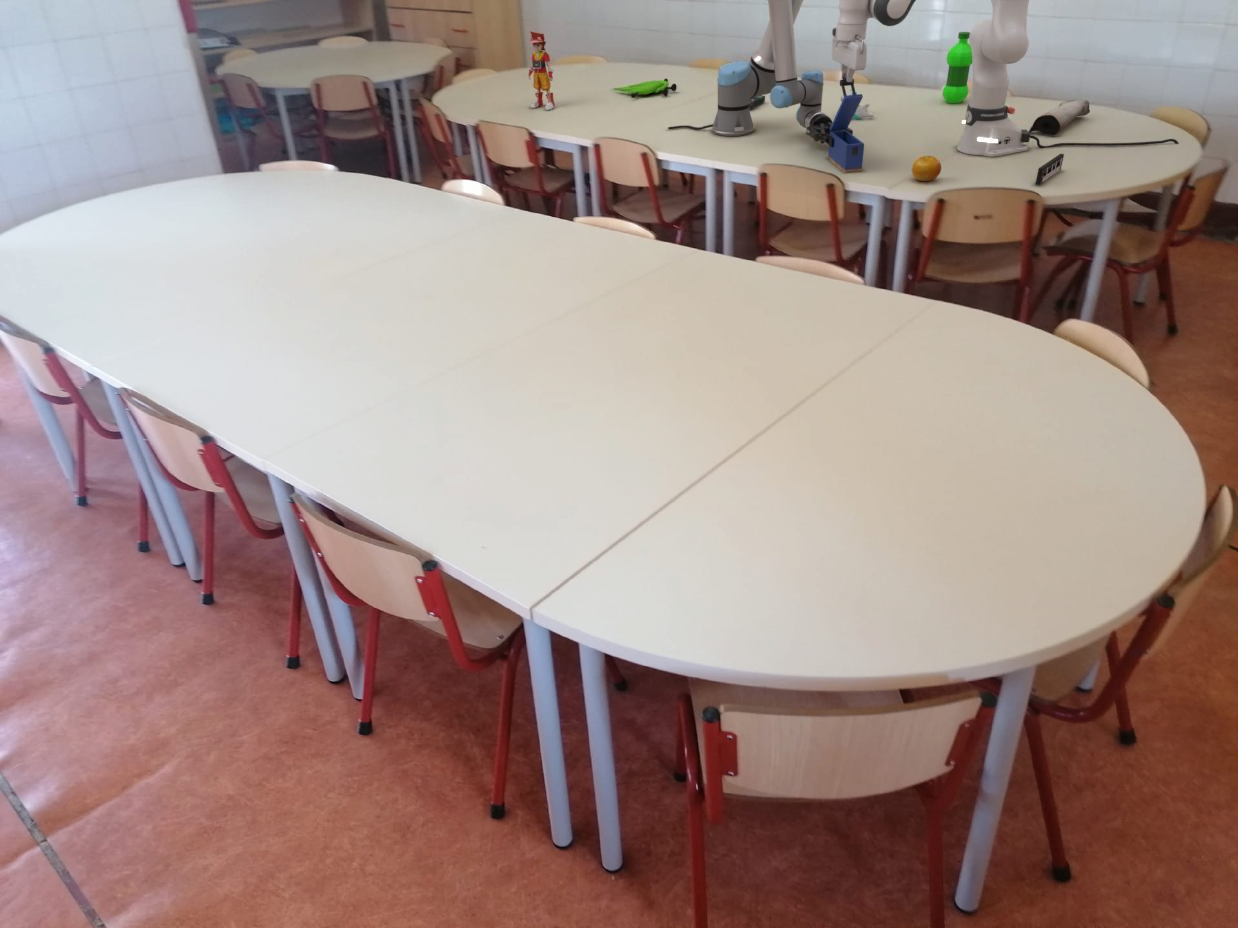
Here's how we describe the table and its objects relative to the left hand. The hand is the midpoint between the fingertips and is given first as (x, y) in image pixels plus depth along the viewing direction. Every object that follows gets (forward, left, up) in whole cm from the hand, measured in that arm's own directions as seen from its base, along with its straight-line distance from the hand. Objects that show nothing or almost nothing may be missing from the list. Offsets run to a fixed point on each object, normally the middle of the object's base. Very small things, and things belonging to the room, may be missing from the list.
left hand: (842, 142), depth 296 cm
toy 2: (-115, +67, -6) cm, 133 cm away
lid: (+1, -1, +9) cm, 9 cm away
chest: (+2, -3, -6) cm, 7 cm away
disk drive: (-60, +59, -6) cm, 85 cm away
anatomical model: (-14, +58, -6) cm, 60 cm away
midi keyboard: (+64, +5, -6) cm, 65 cm away
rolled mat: (+58, +67, -6) cm, 89 cm away
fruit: (+31, -10, -6) cm, 33 cm away
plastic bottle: (+15, +89, -6) cm, 91 cm away
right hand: (0, 0, +19) cm, 19 cm away
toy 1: (-142, +30, -6) cm, 145 cm away
